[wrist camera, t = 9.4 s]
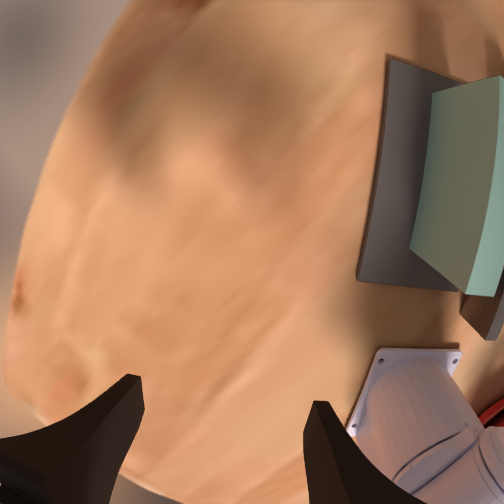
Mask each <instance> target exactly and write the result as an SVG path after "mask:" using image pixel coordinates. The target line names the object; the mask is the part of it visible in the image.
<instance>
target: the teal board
mask: <svg viewBox="0 0 504 504" xmlns="http://www.w3.org/2000/svg"><path fill="white" fill-rule="evenodd" d="M409 249H410V250H412V251H413V252H414V253H415V254H417V255H418V256H419V257H421V258H422V259H423V260H424V261H426V262H427V263H428V264H429V265H431V266H432V267H433V268H434V269H436V270H437V271H438V272H439V273H440V274H442V275H443V276H444V277H445V278H447V279H448V280H449V281H450V282H451V283H453V284H454V285H455V286H456V287H457V288H459V289H460V290H461V291H462V292H463V293H464V294H470V295H481V296H491V297H494V295H495V292H496V289H497V286H498V283H499V280H500V277H501V273H502V270H503V267H504V78H503V77H502V76H500V75H499V76H495V77H490V78H486V79H482V80H479V81H475V82H471V83H467V84H463V85H460V86H456V87H452V88H449V89H445V90H442V91H439V92H435V93H432V105H431V117H430V128H429V137H428V146H427V154H426V161H425V168H424V175H423V181H422V187H421V193H420V199H419V204H418V209H417V215H416V220H415V224H414V229H413V234H412V238H411V243H410V247H409Z"/></svg>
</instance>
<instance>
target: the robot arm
mask: <svg viewBox="0 0 504 504" xmlns="http://www.w3.org/2000/svg"><path fill="white" fill-rule="evenodd" d="M461 356H462V352H461V351H460V349H411V348H381V349H379V350H378V351H377V353H376V355H375V358H374V361H373V363H372V366H371V369H370V371H369V374H368V377H367V379H366V382H365V384H364V387H363V389H362V392H361V394H360V397H359V399H358V402H357V404H356V406H355V409H354V411H353V414H352V416H351V418H350V420H349V423H348V425H347V427H346V429H345V428H344V426H343V425H342V423H341V422H340V420H339V418H338V417H337V415H336V413H335V412H334V410H333V408H332V406H331V405H330V403H329V402H328V401H313V404H312V407H311V410H310V413H309V416H308V419H307V422H306V425H305V428H304V431H303V453H304V461H305V469H306V476H307V484H308V491H309V504H504V427H494V426H490V427H488V428H486V429H485V428H484V427H483V425H482V423H481V422H480V420H479V419H478V417H477V415H476V414H475V412H474V410H473V409H472V407H471V406H470V404H469V403H468V401H467V400H466V398H465V396H464V395H463V393H462V392H461V390H460V389H459V387H458V386H457V384H456V383H455V381H454V380H453V378H452V375H453V373H454V371H455V369H456V367H457V365H458V363H459V360H460V358H461ZM382 358H383V360H381V361H379V360H380V359H382ZM454 359H455V360H454ZM453 360H454V361H453ZM144 410H145V407H144V399H143V391H142V382H141V376H137V375H132V374H126V375H125V376H124V377H122V378H121V379H120V380H119V381H118V382H116V383H115V384H114V385H113V386H111V387H110V388H109V389H108V390H107V391H105V392H104V393H103V394H101V395H100V396H99V397H97V398H96V399H95V400H93V401H92V402H91V403H89V404H88V405H86V406H85V407H83V408H82V409H80V410H79V411H77V412H75V413H74V414H72V415H70V416H68V417H67V418H65V419H63V420H61V421H59V422H56V423H54V424H52V425H49V426H47V427H44V428H42V429H39V430H36V431H33V432H30V433H27V434H22V435H18V436H13V437H7V438H1V439H0V483H1V486H0V504H109V501H110V498H111V494H112V490H113V487H114V484H115V481H116V478H117V475H118V472H119V470H120V467H121V465H122V463H123V461H124V459H125V456H126V454H127V452H128V450H129V448H130V446H131V444H132V442H133V440H134V438H135V435H136V433H137V431H138V429H139V426H140V423H141V420H142V417H143V414H144ZM350 436H356V439H357V444H358V446H357V445H356V443H355V442H354V441H353V439H352V438H351V437H350Z"/></svg>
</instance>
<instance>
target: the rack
mask: <svg viewBox="0 0 504 504" xmlns="http://www.w3.org/2000/svg"><path fill="white" fill-rule="evenodd" d="M460 315H461V316H462V317H463V318H464V319H465V320H466V321H467V322H468V323H469V324H470V325H471V326H472V327H473V328H474V329H475V330H476V331H477V332H478V333H479V335H480V336H481V337H482V338H483V339H484V340H485V341H486V340H497V338H498V335H499V333H500V331H501V328H502V326H503V323H504V267H503V270H502V273H501V277H500V280H499V283H498V286H497V289H496V292H495V295H494V297H491V296H481V295H470V294H466V297H465V300H464V303H463V306H462V309H461V311H460Z"/></svg>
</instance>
